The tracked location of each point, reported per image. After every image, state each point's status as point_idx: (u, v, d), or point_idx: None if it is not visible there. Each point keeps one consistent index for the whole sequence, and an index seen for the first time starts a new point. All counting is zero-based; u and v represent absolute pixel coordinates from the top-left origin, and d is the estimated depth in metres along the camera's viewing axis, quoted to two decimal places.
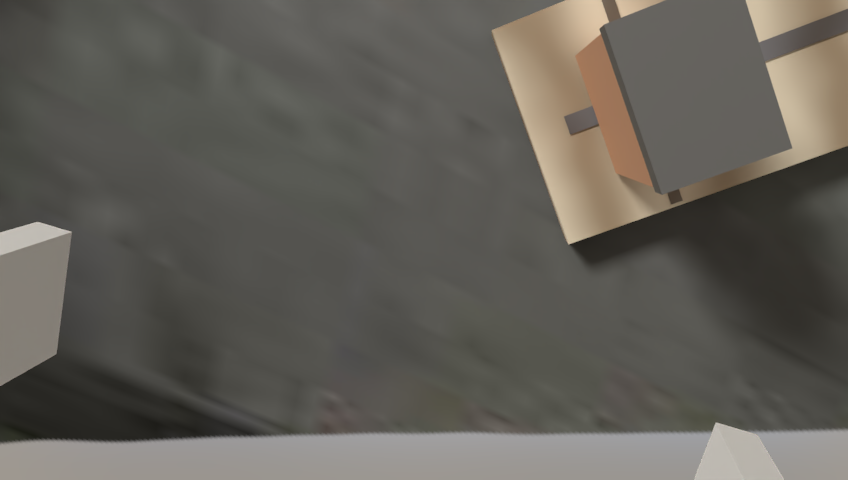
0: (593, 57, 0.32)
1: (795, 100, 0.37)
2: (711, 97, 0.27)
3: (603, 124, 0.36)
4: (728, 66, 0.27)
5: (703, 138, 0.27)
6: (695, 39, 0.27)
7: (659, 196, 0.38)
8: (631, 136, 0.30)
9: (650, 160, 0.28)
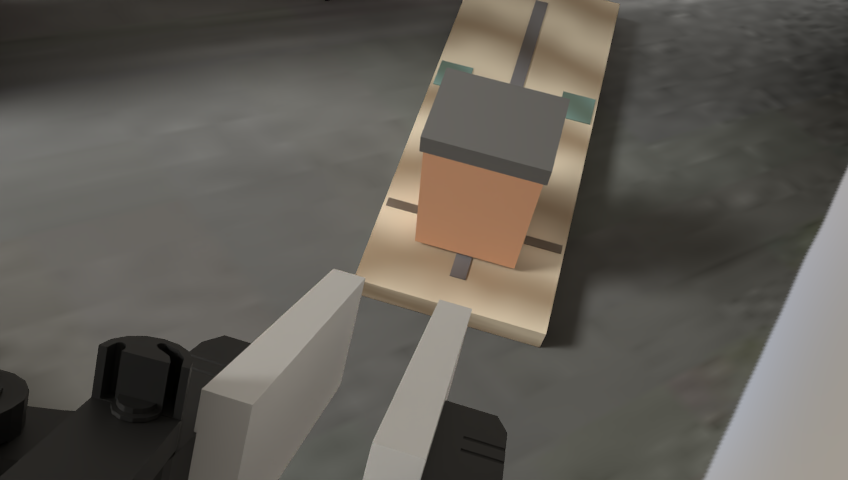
0: (429, 194, 0.41)
1: None
2: (509, 115, 0.38)
3: (475, 244, 0.44)
4: (497, 98, 0.38)
5: (531, 132, 0.37)
6: (468, 103, 0.38)
7: (550, 257, 0.46)
8: (499, 185, 0.38)
9: (524, 164, 0.36)
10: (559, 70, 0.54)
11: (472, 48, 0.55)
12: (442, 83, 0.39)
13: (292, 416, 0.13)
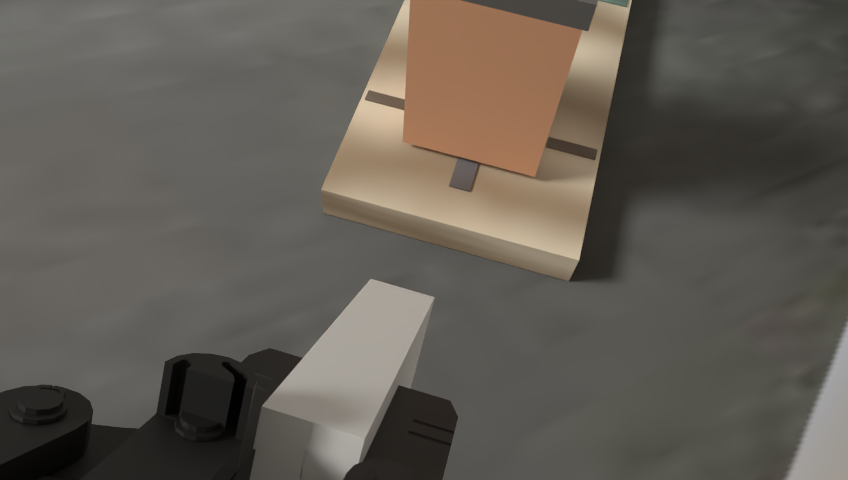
0: (421, 62, 0.29)
1: None
2: None
3: (483, 141, 0.33)
4: None
5: None
6: None
7: (581, 164, 0.35)
8: (519, 37, 0.27)
9: None
10: None
11: None
12: None
13: None
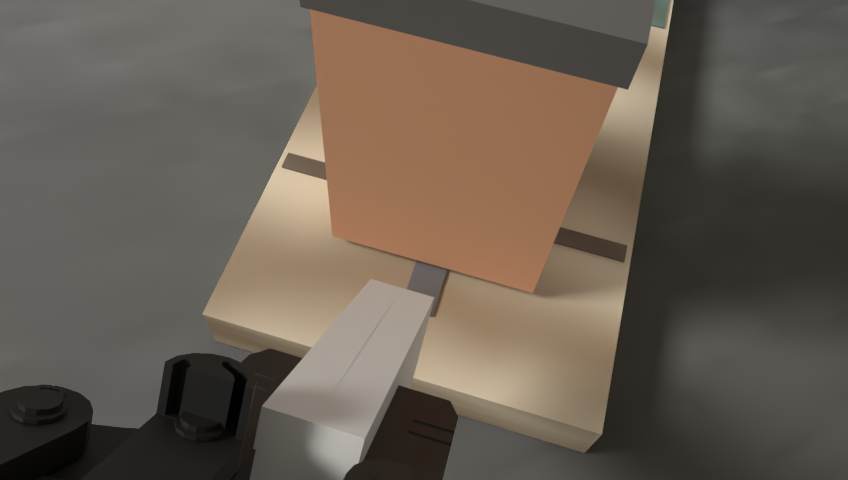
0: (344, 129, 0.18)
1: None
2: None
3: (452, 243, 0.21)
4: None
5: None
6: None
7: (603, 268, 0.23)
8: (504, 95, 0.15)
9: (572, 26, 0.13)
10: None
11: None
12: None
13: None
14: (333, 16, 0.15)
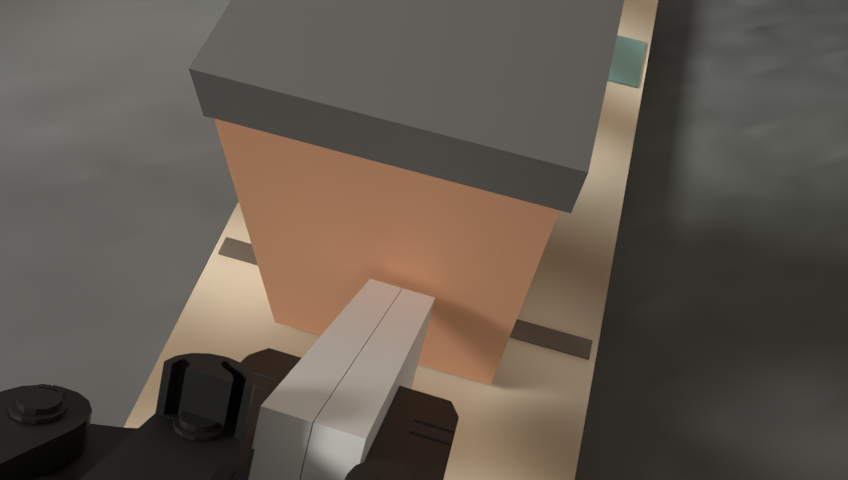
0: (271, 230, 0.16)
1: None
2: (459, 11, 0.13)
3: None
4: None
5: (523, 57, 0.13)
6: None
7: (565, 367, 0.21)
8: (436, 210, 0.14)
9: (502, 151, 0.12)
10: None
11: None
12: None
13: None
14: (240, 126, 0.13)
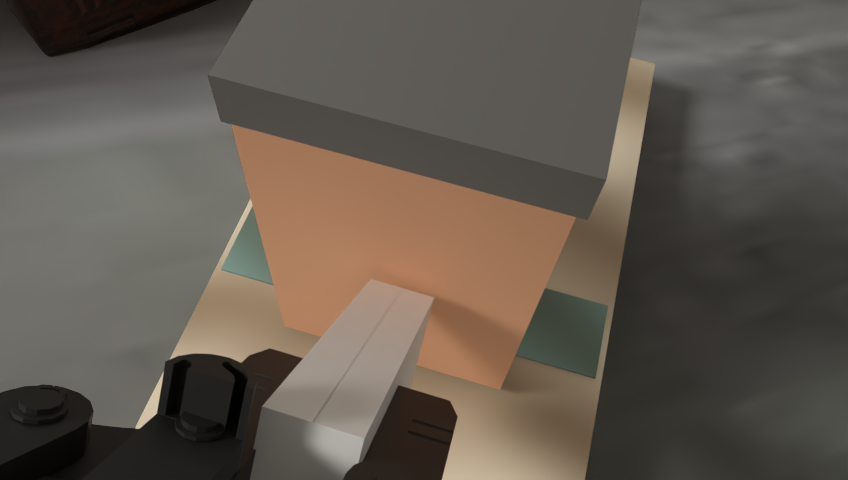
0: (284, 234, 0.16)
1: (466, 473, 0.19)
2: (476, 18, 0.13)
3: None
4: None
5: (540, 65, 0.13)
6: None
7: None
8: (451, 216, 0.14)
9: (520, 158, 0.12)
10: None
11: None
12: None
13: None
14: (257, 132, 0.13)
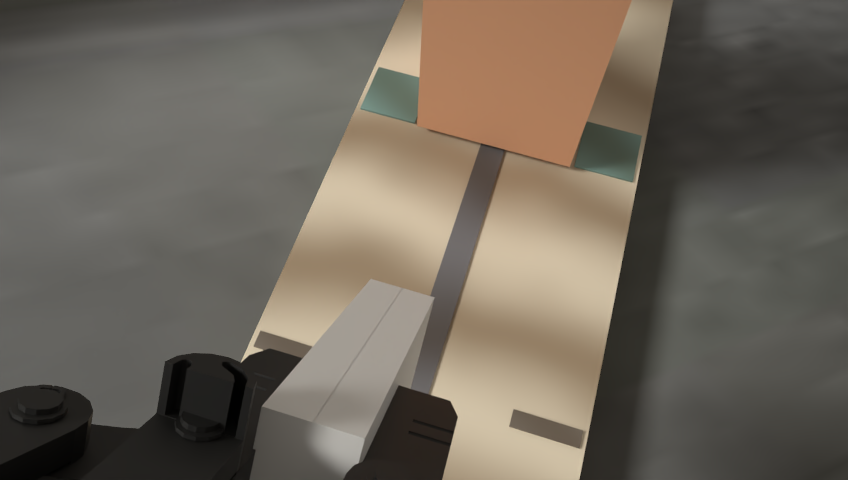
0: (438, 32, 0.25)
1: (542, 238, 0.28)
2: None
3: (510, 126, 0.28)
4: None
5: None
6: None
7: (558, 455, 0.24)
8: (556, 0, 0.22)
9: None
10: None
11: None
12: None
13: None
14: None
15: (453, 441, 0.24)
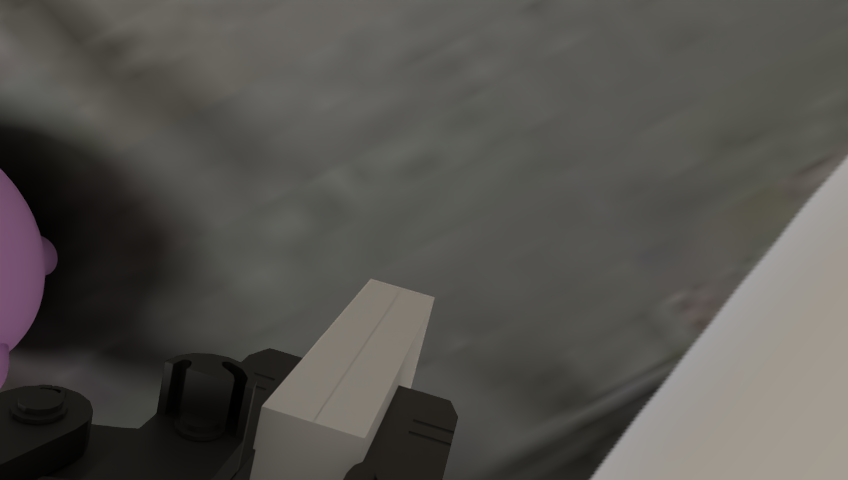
0: None
1: None
2: None
3: None
4: None
5: None
6: None
7: None
8: None
9: None
10: None
11: None
12: None
13: None
14: None
15: None
